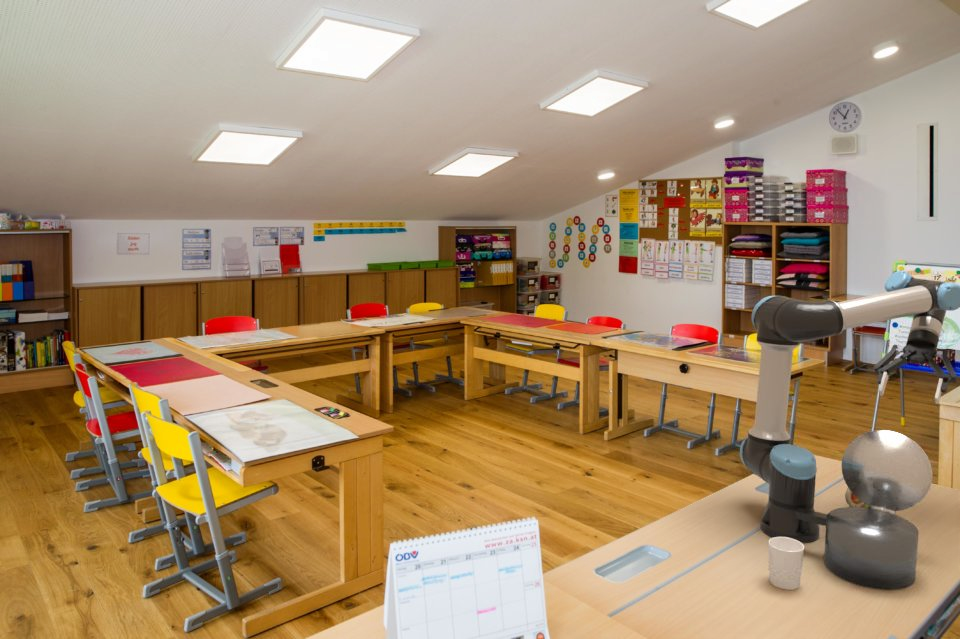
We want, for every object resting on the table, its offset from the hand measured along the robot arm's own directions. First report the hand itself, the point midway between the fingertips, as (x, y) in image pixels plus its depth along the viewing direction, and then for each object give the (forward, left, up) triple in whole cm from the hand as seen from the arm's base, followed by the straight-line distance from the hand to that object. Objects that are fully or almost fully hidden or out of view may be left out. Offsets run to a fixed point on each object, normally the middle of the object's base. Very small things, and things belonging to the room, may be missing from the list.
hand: (908, 397), depth 197 cm
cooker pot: (-4, -33, -37) cm, 50 cm away
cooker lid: (-1, -21, -16) cm, 26 cm away
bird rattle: (-12, +6, -38) cm, 40 cm away
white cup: (-15, -53, -38) cm, 67 cm away
